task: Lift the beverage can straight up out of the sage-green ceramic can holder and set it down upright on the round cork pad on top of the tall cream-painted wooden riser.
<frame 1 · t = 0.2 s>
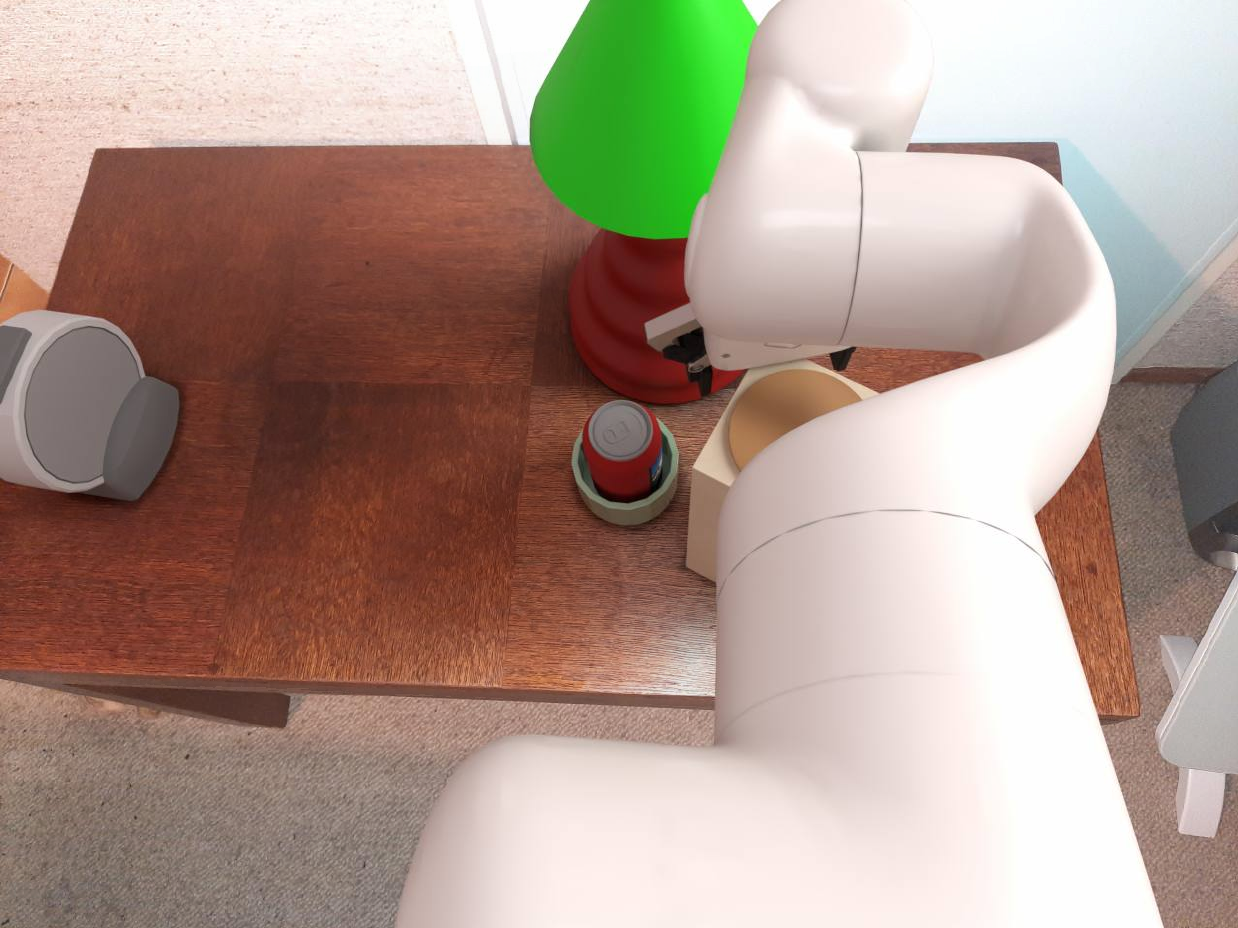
hand: (767, 365, 61), 22 cm above the table, tool pointing down, fingers open, 9 cm apart
beverage can: (627, 476, 82), resting on can holder
alarm clock: (126, 439, 87), on the table
table lamp: (667, 318, 88), on the table
riser: (758, 546, 79), on the table
cork pad: (801, 437, 53), resting on riser
can holder: (627, 477, 82), on the table
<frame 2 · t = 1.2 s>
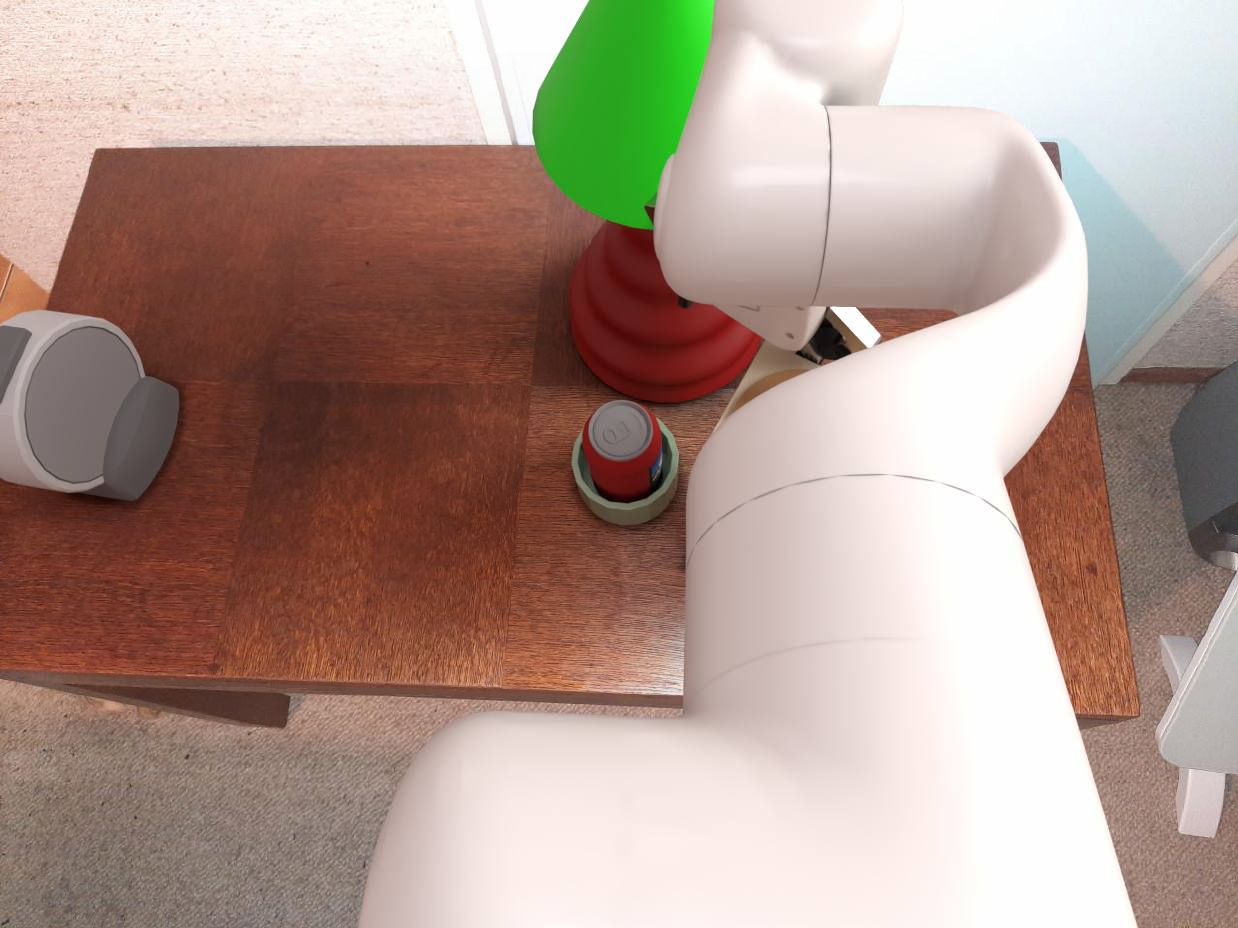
hand: (748, 328, 60), 24 cm above the table, tool pointing down, fingers open, 9 cm apart
table lamp: (667, 317, 88), on the table, touching gripper
everything else where it was.
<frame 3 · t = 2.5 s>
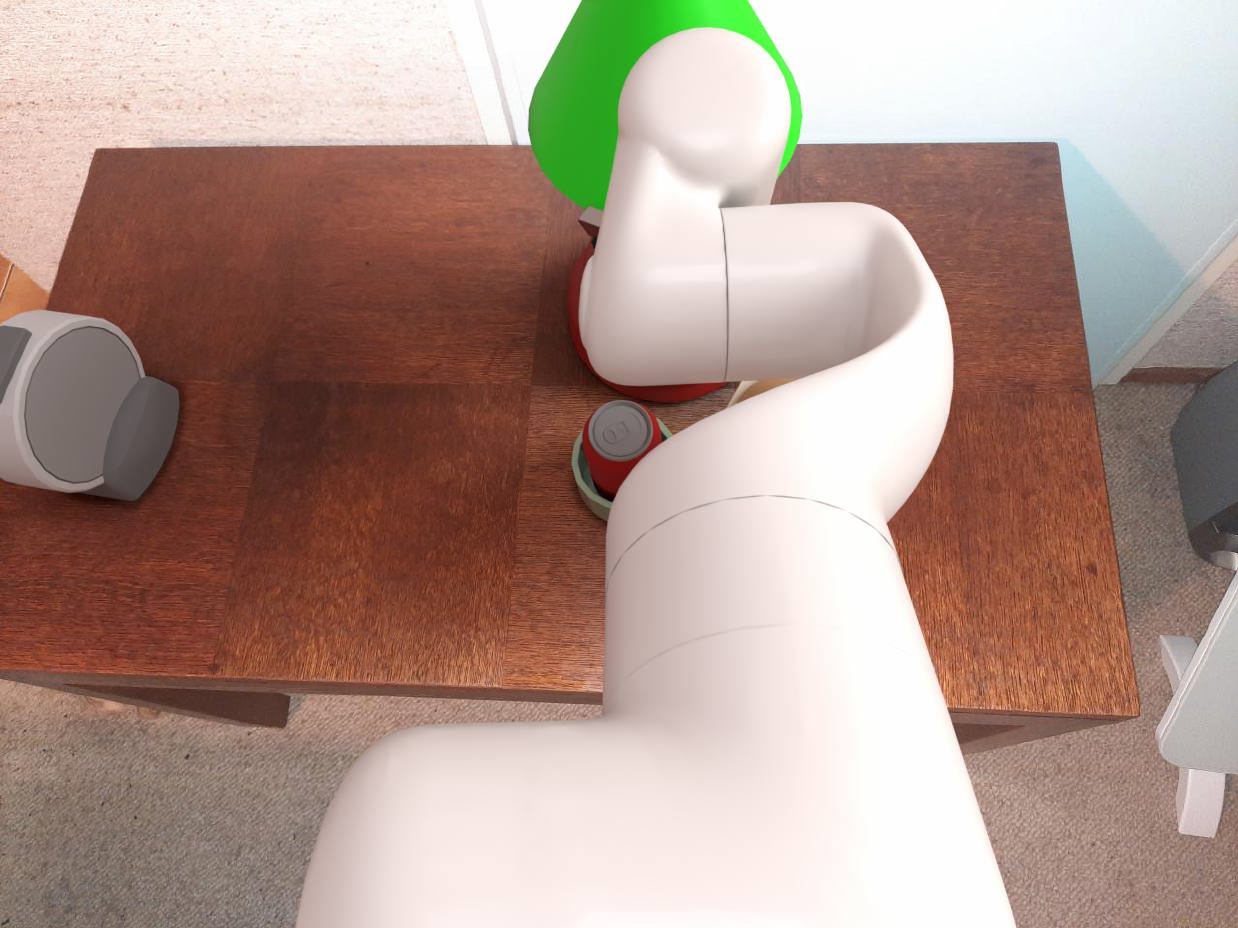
hand: (687, 319, 64), 21 cm above the table, tool pointing down, fingers open, 9 cm apart
table lamp: (666, 317, 88), on the table
everything else where it was.
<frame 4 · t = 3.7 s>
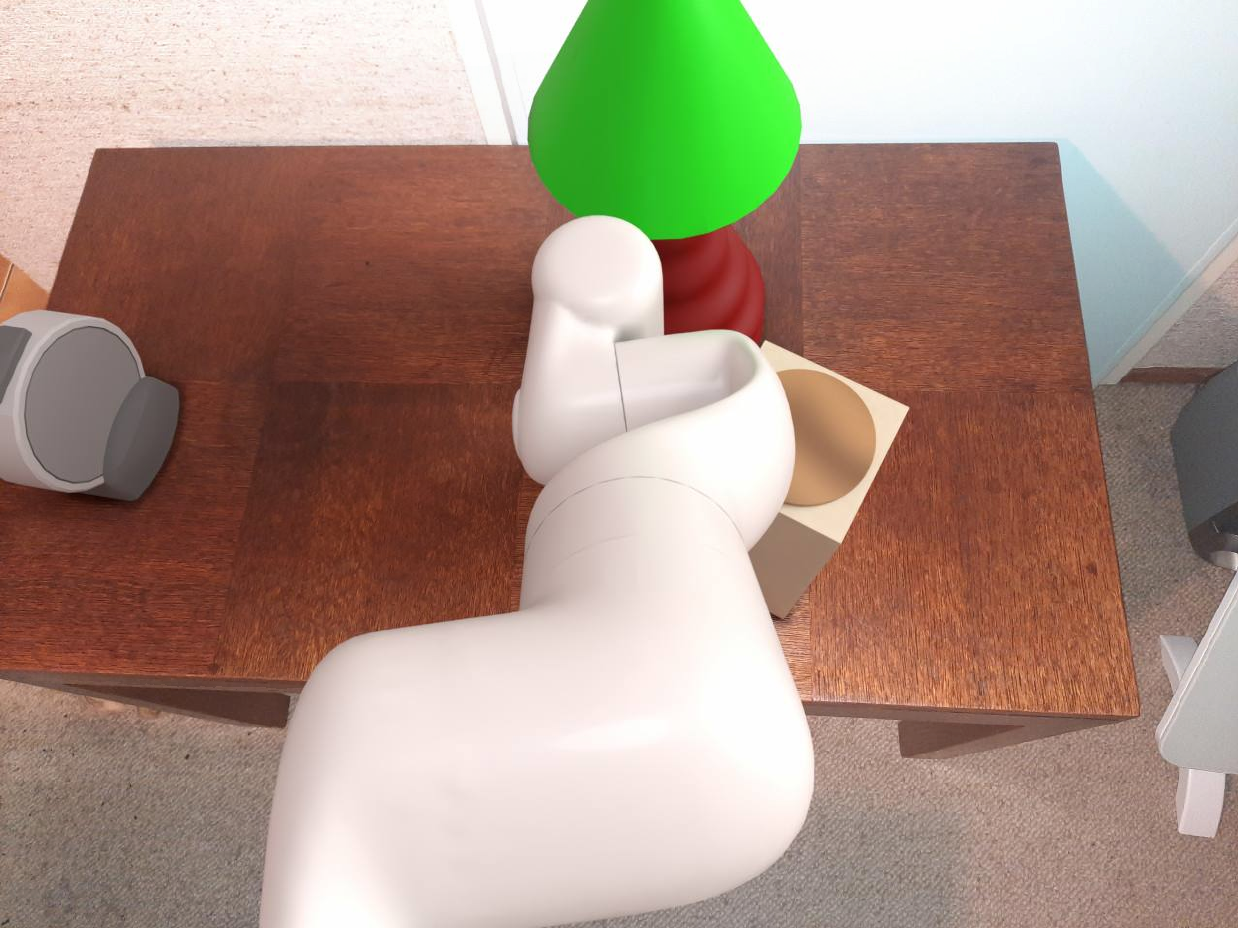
hand: (623, 449, 75), 8 cm above the table, tool pointing down, fingers closed on beverage can, 6 cm apart
beverage can: (627, 476, 82), resting on can holder, touching gripper
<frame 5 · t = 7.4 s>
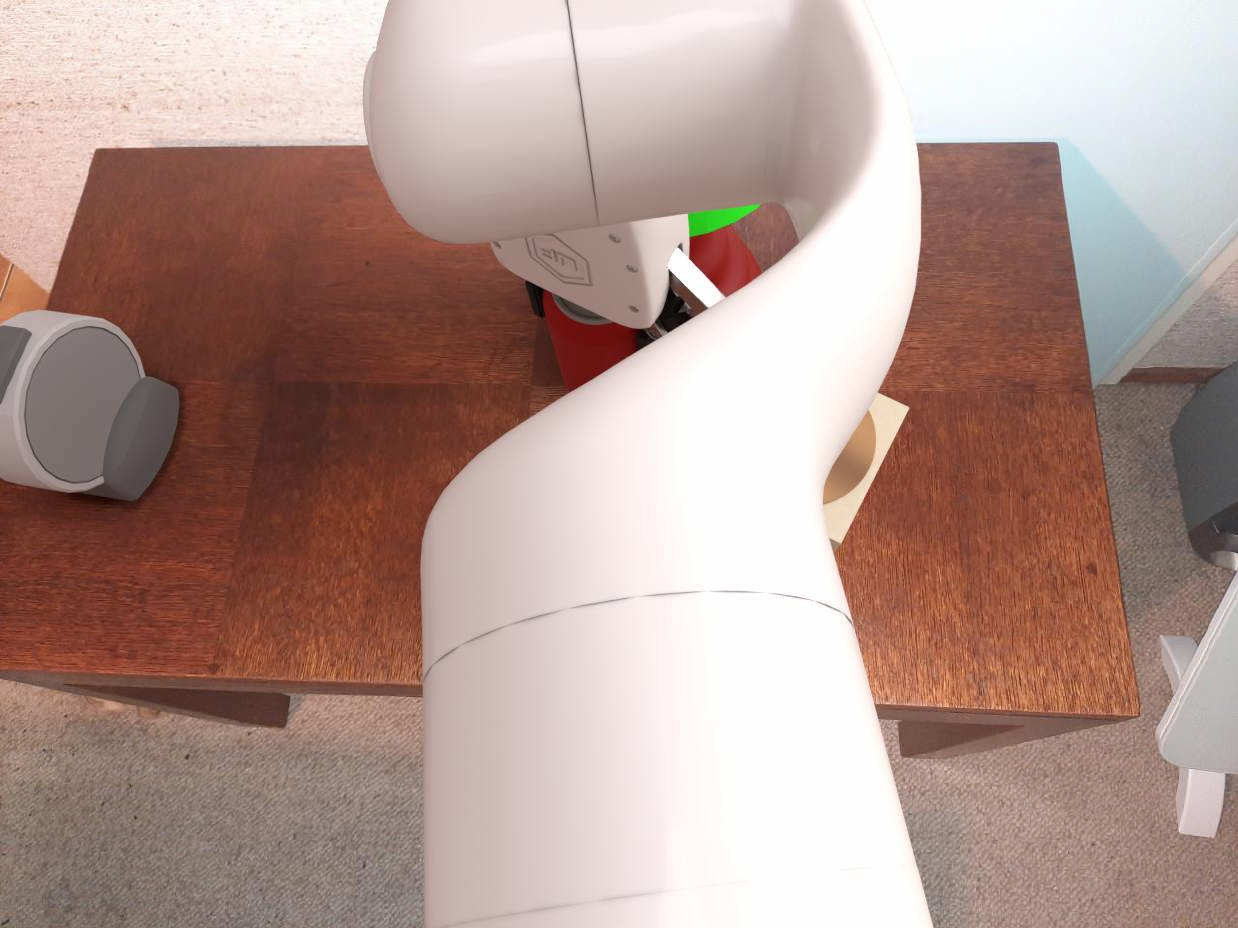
hand: (603, 322, 53), 31 cm above the table, tool pointing down, fingers closed on beverage can, 6 cm apart
beverage can: (611, 375, 60), point 24 cm above the table, touching gripper
everything else where it was.
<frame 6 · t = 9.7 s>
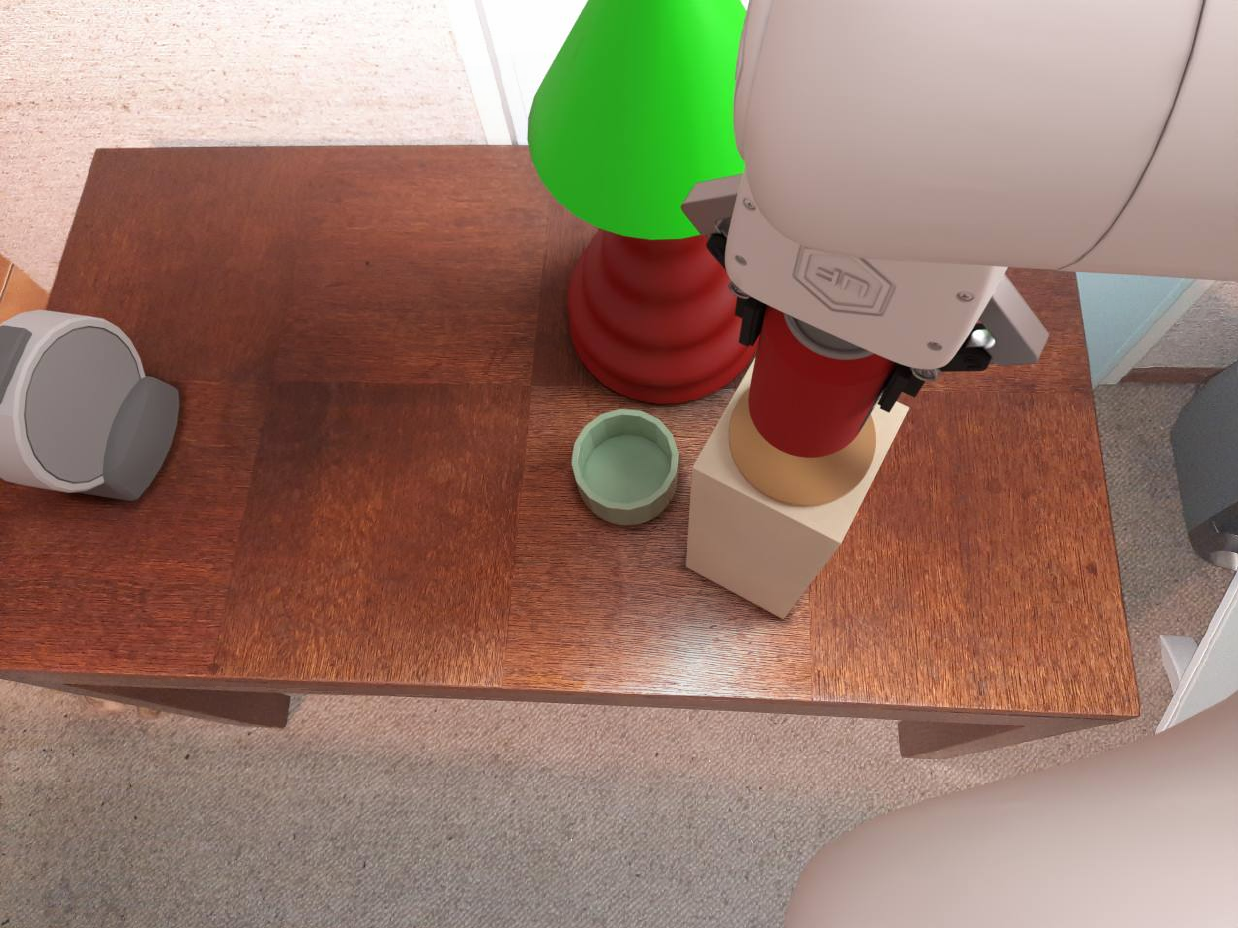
hand: (825, 352, 43), 39 cm above the table, tool pointing down, fingers closed on beverage can, 6 cm apart
beverage can: (804, 410, 50), point 32 cm above the table, touching gripper
everything else where it was.
when the fingers open (36 cm above the table, at t = 11.4 s): beverage can stays where it is, resting on cork pad.
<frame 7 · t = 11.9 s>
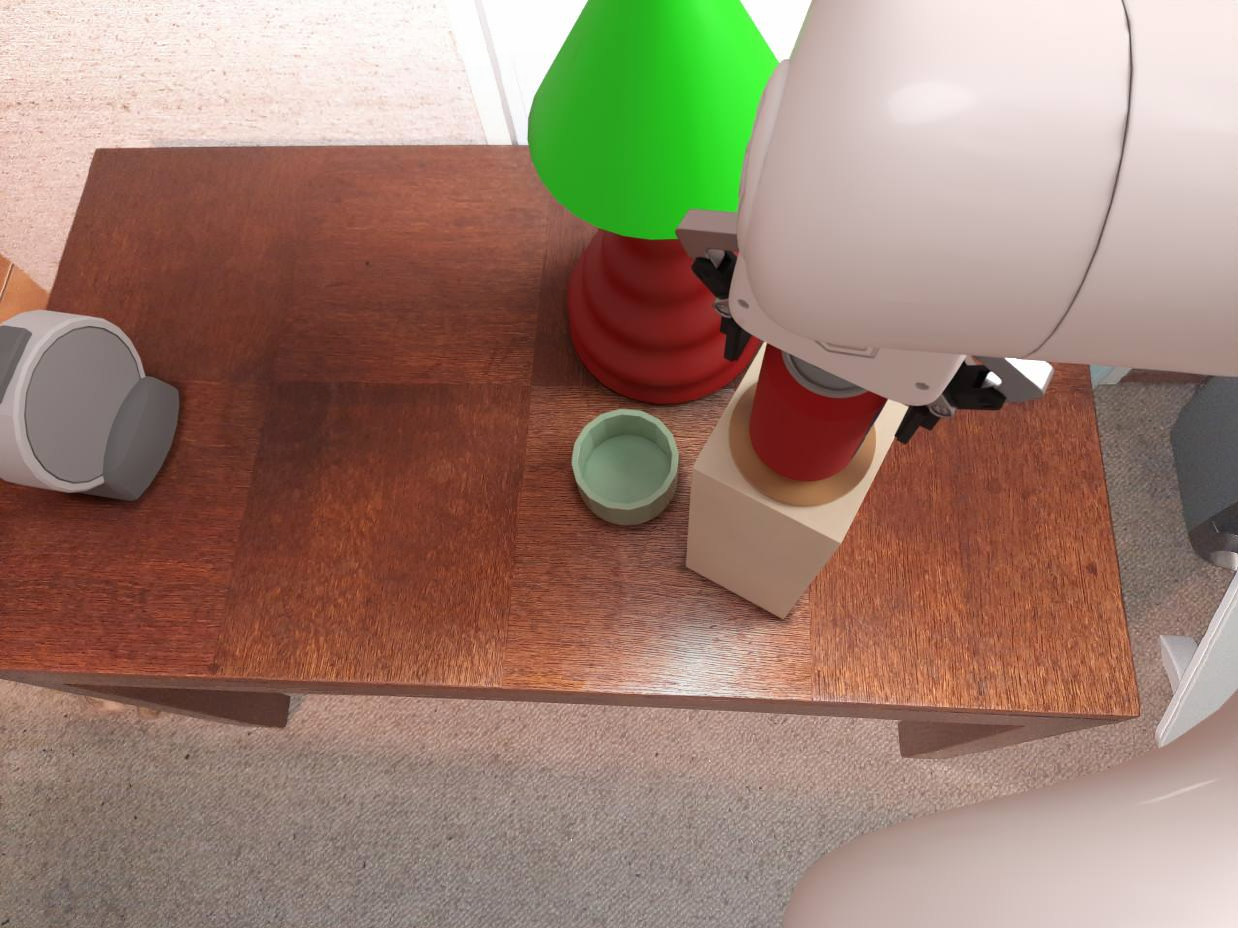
hand: (824, 378, 45), 37 cm above the table, tool pointing down, fingers open, 9 cm apart
beverage can: (802, 435, 53), point 28 cm above the table, touching cork pad
everything else where it was.
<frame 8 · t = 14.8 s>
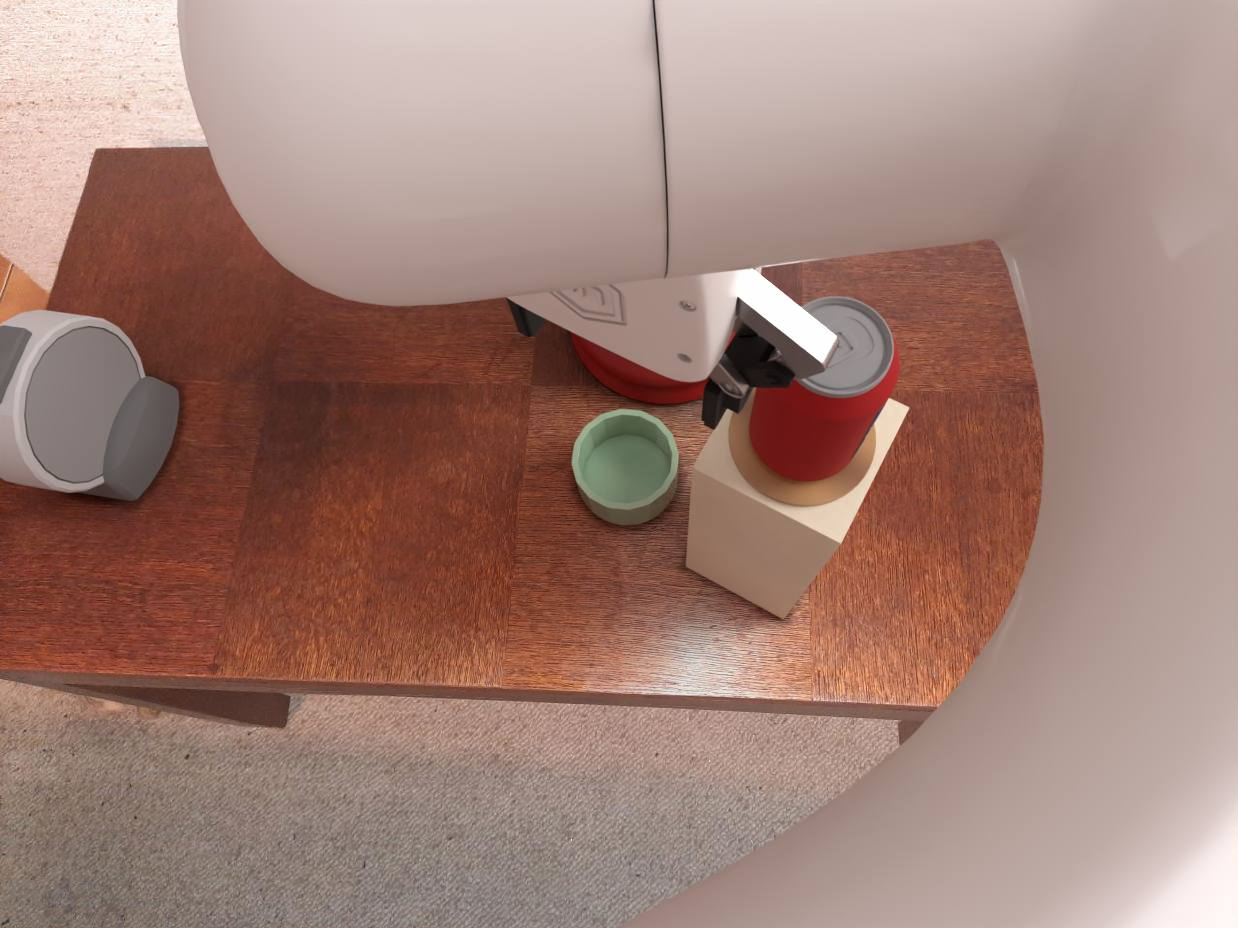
hand: (631, 355, 40), 42 cm above the table, tool pointing down, fingers open, 9 cm apart
nothing on the table moved.
at the end: beverage can 0.0 cm off-centre on the cork pad, point 0.2 cm above the cork pad's base; beverage can tilted 0° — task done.
